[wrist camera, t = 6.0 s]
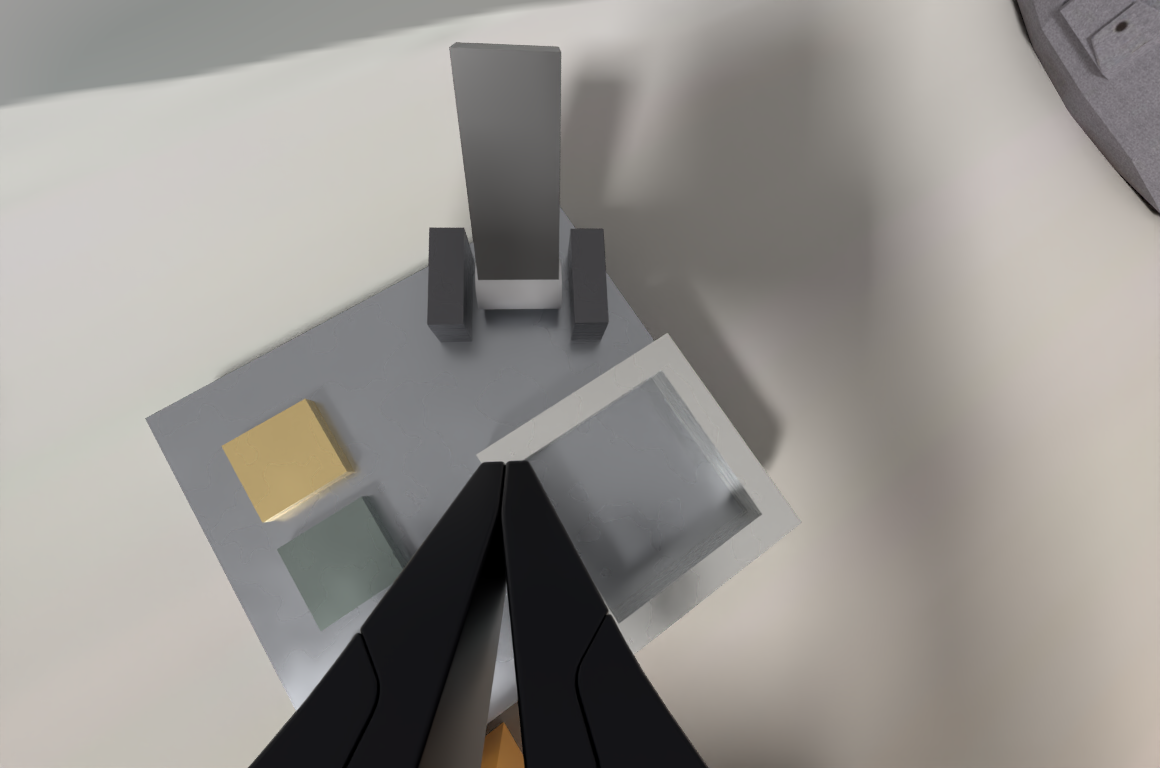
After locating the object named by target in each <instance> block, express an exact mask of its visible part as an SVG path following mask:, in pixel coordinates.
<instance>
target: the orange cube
mask: <svg viewBox="0 0 1160 768" xmlns="http://www.w3.org/2000/svg"><path fill="white" fill-rule="evenodd" d="M481 768H524V757H523V754H522V753H521V751H520V749H519V747H518V746H517V744H516V742H515V740H514V739H513V737H512V735H511V733H510V732H509V730H508V728H507V727H506V725H505V723H504V722H503V723H502V724H500V725H499V726H498V727H497V728H495V729H494V730H493V731H491V732H490V733H489V734H487V735H486V736H485V741H484V748H483V755H482V762H481Z"/></svg>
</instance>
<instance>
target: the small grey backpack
mask: <svg viewBox="0 0 1160 768" xmlns="http://www.w3.org/2000/svg"><path fill="white" fill-rule="evenodd" d="M1017 2H1018V5H1019V8H1020V11H1021V14H1022V17H1023V20H1024V23H1025V26H1026V29H1027V32H1028V35H1029V38H1030V41H1031V44H1032V46H1033V49H1034V51H1035V53H1036V54H1037V56H1038V58H1039V60H1040V62H1041V63H1042V65H1043V67H1044V69H1045V71H1046V72H1047V74H1048V76H1049V78H1050V79H1051V81H1052V83H1053V85H1054V87H1055V88H1056V90H1057V92H1058V94H1059V96H1060V97H1061V99H1062V101H1063V103H1064V105H1065V106H1066V108H1067V110H1068V111H1069V112H1070V114H1071V115H1072V117H1073V118H1074V119H1075V120H1076V122H1077V123H1078V124H1079V125H1080V127H1081V128H1082V129H1083V130H1084V132H1085V133H1086V134H1087V135H1088V137H1089V138H1090V139H1091V140H1092V142H1093V143H1094V144H1095V145H1096V146H1097V148H1098V149H1099V150H1100V151H1101V153H1102V154H1103V155H1104V156H1105V158H1106V159H1107V160H1108V161H1109V163H1110V164H1111V165H1112V166H1113V168H1114V169H1115V170H1116V171H1117V172H1118V173H1119V174H1120V175H1121V176H1122V177H1123V178H1124V179H1125V180H1126V181H1127V182H1128V183H1129V184H1130V185H1131V186H1132V187H1133V188H1134V189H1135V190H1136V191H1137V192H1139V193H1140V194H1141V195H1142V196H1143V197H1144V198H1145V199H1146V200H1147V201H1148V202H1149V203H1150V204H1151V205H1152V206H1153V207H1154V208H1155V209H1156V210H1157V211H1158V212H1159V213H1160V0H1017Z"/></svg>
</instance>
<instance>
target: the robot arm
mask: <svg viewBox="0 0 1160 768" xmlns="http://www.w3.org/2000/svg"><path fill="white" fill-rule="evenodd" d="M506 584H507V594H508V604H509V615H510V625H511V635H512V645H513V655H514V666H515V676H516V686H517V696H518V706H519V717H520V727H521V737H522V747H523V757H524V768H708V766H707V765H706V763H705V762H704V760H703V759H702V758H701V756H700V755H699V753H698V752H697V750H696V749H695V747H694V746H693V745H692V743H691V742H690V740H689V739H688V737H687V736H686V735H685V733H684V732H683V730H682V729H681V727H680V726H679V724H678V723H677V722H676V720H675V719H674V717H673V716H672V714H671V713H670V712H669V710H668V709H667V707H666V705H665V704H664V702H663V701H662V699H661V698H660V696H659V695H658V693H657V692H656V690H655V689H654V687H653V686H652V684H651V683H650V681H649V679H648V678H647V676H646V675H645V673H644V672H643V670H642V668H641V667H640V665H639V663H638V661H637V660H636V658H635V656H634V654H633V653H632V651H631V649H630V648H629V646H628V644H627V642H626V641H625V639H624V637H623V635H622V633H621V631H620V630H619V628H618V626H617V624H616V622H615V620H614V618H613V617H612V615H611V614H609V610H608V608H607V606H606V604H605V602H604V600H603V598H602V596H601V595H600V593H599V591H598V589H597V587H596V585H595V583H594V582H593V580H592V578H591V576H590V574H589V572H588V570H587V568H586V567H585V565H584V563H583V561H582V559H581V557H580V555H579V553H578V552H577V550H576V548H575V546H574V544H573V542H572V540H571V538H570V537H569V535H568V533H567V531H566V529H565V527H564V525H563V523H562V522H561V520H560V518H559V516H558V514H557V512H556V510H555V509H554V507H553V505H552V503H551V501H550V499H549V497H548V495H547V494H546V492H545V490H544V488H543V486H542V484H541V482H540V480H539V479H538V477H537V475H536V473H535V471H534V469H533V467H532V465H531V464H530V462H529V461H527V460H519V461H508V462H507V463H506V465H505V463H504V462H503V461H495V462H483V463H481V464H480V466H479V467H478V468H477V470H476V471H475V472H474V474H473V475H472V476H471V478H470V479H469V481H468V482H467V483H466V485H465V486H464V487H463V489H462V490H461V491H460V493H459V494H458V495H457V497H456V498H455V500H454V501H453V502H452V504H451V505H450V506H449V508H448V509H447V510H446V512H445V513H444V515H443V516H442V517H441V519H440V520H439V521H438V523H437V524H436V525H435V527H434V528H433V529H432V531H431V532H430V534H429V535H428V536H427V538H426V539H425V540H424V542H423V543H422V544H421V546H420V547H419V549H418V550H417V551H416V553H415V554H414V555H413V557H412V558H411V559H410V561H409V562H408V563H407V565H406V566H405V568H404V569H403V570H402V572H401V573H400V574H399V576H398V577H397V578H396V580H395V581H394V583H393V584H392V585H391V587H390V588H389V589H388V591H387V592H386V593H385V595H384V596H383V597H382V599H381V600H380V602H379V603H378V604H377V606H376V607H375V608H374V610H373V611H372V612H371V614H370V615H369V617H368V618H367V619H366V621H365V622H364V623H363V625H362V626H361V628H360V632H361V633H356V634H355V635H354V636H353V638H352V639H351V641H350V642H349V643H348V645H347V646H346V647H345V649H344V650H343V652H342V653H341V654H340V656H339V657H338V658H337V660H336V661H335V662H334V664H333V665H332V666H331V668H330V669H329V670H328V671H327V673H326V674H325V675H324V677H323V678H322V679H321V681H320V682H319V683H318V684H317V686H316V687H315V688H314V690H313V691H312V692H311V693H310V695H309V696H308V697H307V699H306V700H305V701H304V702H303V704H302V705H301V706H300V707H299V708H298V710H297V711H296V712H295V713H294V714H293V715H292V717H291V718H290V719H289V720H288V721H287V723H286V724H285V725H284V726H283V727H282V729H281V730H280V731H279V732H278V733H277V734H276V736H275V737H274V738H273V739H272V740H271V742H270V743H269V744H268V745H267V746H266V748H265V749H264V750H263V751H262V752H261V753H260V754H259V756H258V757H257V758H256V759H255V760H254V761H253V763H252V764H251V765H250V766H249V767H248V768H481V762H482V755H483V748H484V741H485V734H486V727H487V720H488V713H489V706H490V699H491V692H492V685H493V678H494V671H495V664H496V657H497V650H498V643H499V636H500V629H501V622H502V615H503V608H504V601H505V593H506Z"/></svg>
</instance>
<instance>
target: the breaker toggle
mask: <svg viewBox="0 0 1160 768" xmlns="http://www.w3.org/2000/svg"><path fill="white" fill-rule="evenodd" d="M449 50H450V58H451V66H452V74H453V82H454V90H455V98H456V106H457V114H458V122H459V130H460V138H461V147H462V155H463V163H464V171H465V179H466V187H467V195H468V203H469V211H470V219H471V227H472V235H473V243H474V251H475V259H476V264H475V288H476V298H477V304H478V307H479V309H480V310H481V309H561V306H562V272H561V260H560V259H559V219H560V117H561V51H560V49H559V47H553V46H530V45H507V44H483V43H460V42H456V43H454V44H453V45H452V46H450V47H449Z"/></svg>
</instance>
